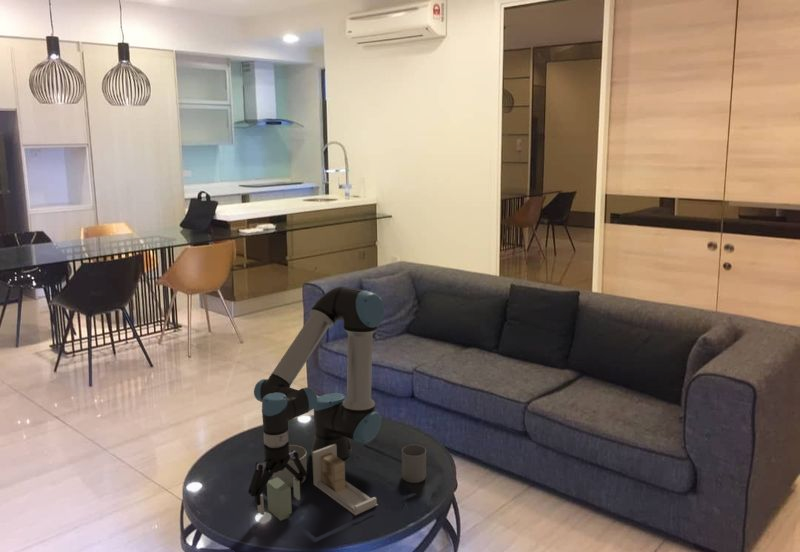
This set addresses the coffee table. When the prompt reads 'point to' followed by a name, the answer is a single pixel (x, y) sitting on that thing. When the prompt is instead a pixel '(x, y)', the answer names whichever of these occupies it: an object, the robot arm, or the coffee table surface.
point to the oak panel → (333, 472)
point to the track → (348, 496)
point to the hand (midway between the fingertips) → (279, 505)
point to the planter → (293, 466)
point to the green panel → (279, 498)
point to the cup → (413, 463)
